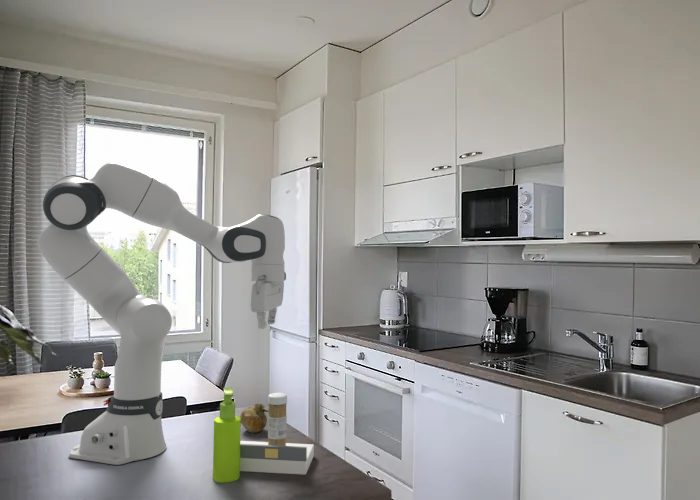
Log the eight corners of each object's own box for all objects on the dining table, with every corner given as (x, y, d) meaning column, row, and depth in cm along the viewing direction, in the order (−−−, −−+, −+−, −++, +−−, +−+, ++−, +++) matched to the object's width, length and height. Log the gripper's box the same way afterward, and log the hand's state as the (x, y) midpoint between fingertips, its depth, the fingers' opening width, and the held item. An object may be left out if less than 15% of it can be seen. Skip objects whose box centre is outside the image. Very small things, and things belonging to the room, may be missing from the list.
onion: (257, 424, 155) (257, 397, 155) (272, 431, 149) (273, 403, 150) (234, 430, 150) (235, 402, 150) (250, 437, 144) (250, 408, 144)
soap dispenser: (213, 486, 114) (215, 393, 114) (212, 473, 120) (214, 385, 121) (241, 483, 115) (242, 391, 116) (238, 470, 122) (240, 384, 122)
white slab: (220, 470, 122) (220, 444, 122) (235, 452, 133) (236, 428, 133) (305, 475, 120) (305, 448, 120) (313, 456, 131) (314, 432, 131)
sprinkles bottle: (281, 445, 130) (282, 391, 130) (289, 451, 126) (290, 395, 126) (264, 448, 128) (265, 393, 128) (271, 455, 124) (272, 397, 124)
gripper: (269, 276, 132) (268, 331, 132) (287, 274, 152) (286, 321, 152) (245, 275, 132) (243, 330, 132) (266, 273, 153) (265, 321, 153)
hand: (266, 326), depth 142 cm, fingers open, 8 cm apart
